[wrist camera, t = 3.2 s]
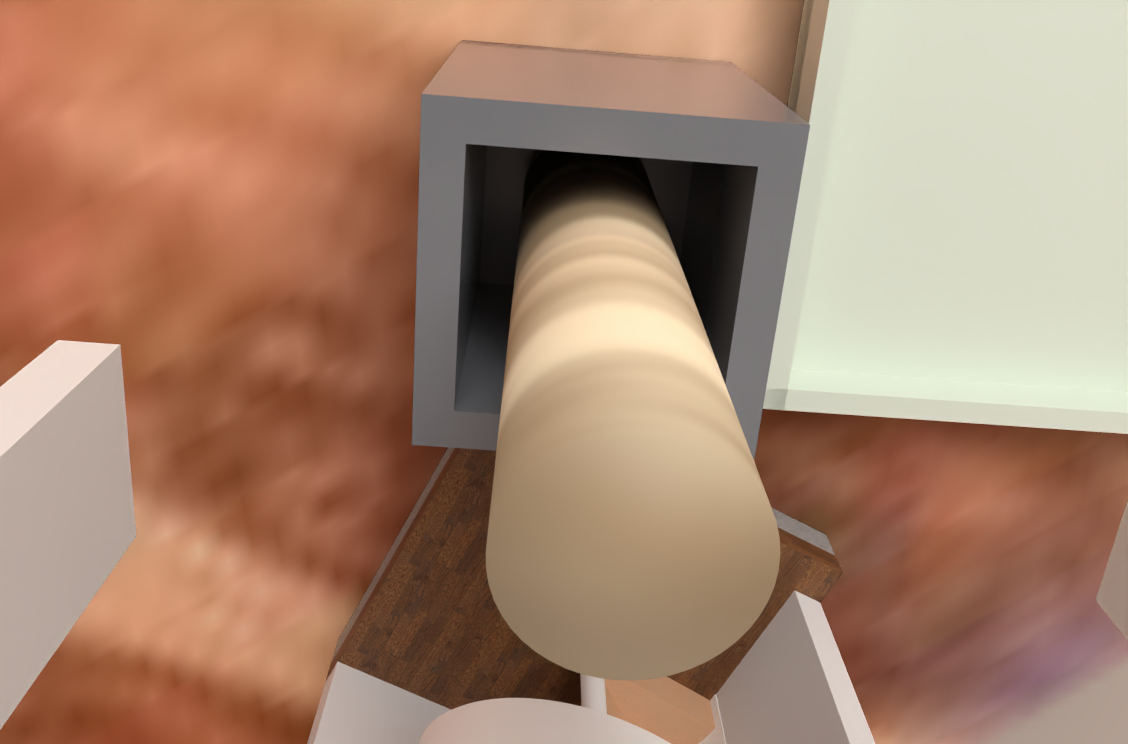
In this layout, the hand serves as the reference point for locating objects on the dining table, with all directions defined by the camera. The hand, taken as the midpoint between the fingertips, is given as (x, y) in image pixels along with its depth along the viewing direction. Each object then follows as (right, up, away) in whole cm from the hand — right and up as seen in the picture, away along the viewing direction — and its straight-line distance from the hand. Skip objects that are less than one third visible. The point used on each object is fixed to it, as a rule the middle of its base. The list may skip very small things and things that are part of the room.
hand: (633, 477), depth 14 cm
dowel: (0, +6, +13) cm, 15 cm away
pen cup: (0, +6, +14) cm, 16 cm away
